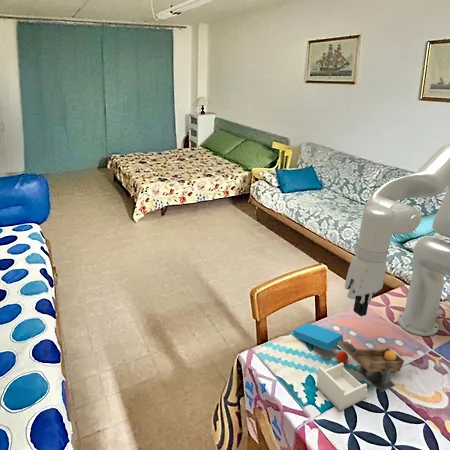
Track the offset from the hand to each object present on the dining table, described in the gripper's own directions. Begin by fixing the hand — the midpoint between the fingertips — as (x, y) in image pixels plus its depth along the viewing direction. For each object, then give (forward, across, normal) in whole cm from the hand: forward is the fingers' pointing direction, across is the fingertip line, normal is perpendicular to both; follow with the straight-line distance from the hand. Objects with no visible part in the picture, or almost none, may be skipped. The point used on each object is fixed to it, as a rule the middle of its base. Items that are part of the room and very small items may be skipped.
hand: (359, 313), depth 110 cm
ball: (+13, -8, +6) cm, 17 cm away
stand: (+18, -4, +6) cm, 20 cm away
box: (+19, +9, +6) cm, 22 cm away
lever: (+19, +1, -10) cm, 22 cm away
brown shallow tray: (+15, -3, +3) cm, 16 cm away
